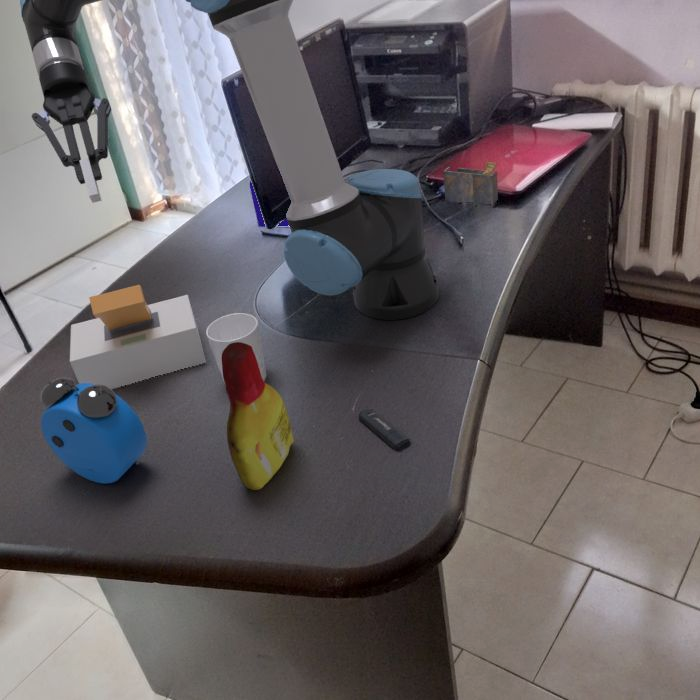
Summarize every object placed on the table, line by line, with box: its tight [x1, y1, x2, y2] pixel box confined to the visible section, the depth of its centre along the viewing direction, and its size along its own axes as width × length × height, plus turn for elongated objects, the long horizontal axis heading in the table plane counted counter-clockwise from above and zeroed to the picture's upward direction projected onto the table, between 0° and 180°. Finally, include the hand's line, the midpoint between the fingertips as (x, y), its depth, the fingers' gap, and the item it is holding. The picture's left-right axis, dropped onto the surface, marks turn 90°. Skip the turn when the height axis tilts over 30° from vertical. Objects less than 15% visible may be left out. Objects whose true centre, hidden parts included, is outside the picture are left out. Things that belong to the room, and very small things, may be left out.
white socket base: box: [69, 294, 207, 390], centre depth 123 cm, size 12×20×7 cm, turn 107°
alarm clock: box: [39, 377, 148, 484], centre depth 98 cm, size 13×6×15 cm, turn 65°
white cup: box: [205, 312, 267, 387], centre depth 113 cm, size 8×8×10 cm
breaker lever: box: [88, 284, 153, 331], centre depth 115 cm, size 3×8×11 cm
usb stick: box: [358, 408, 411, 452], centre depth 101 cm, size 10×3×2 cm, turn 34°
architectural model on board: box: [442, 160, 499, 205], centre depth 158 cm, size 11×3×10 cm, turn 57°
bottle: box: [221, 342, 295, 491], centre depth 93 cm, size 12×6×20 cm, turn 161°
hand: (95, 198), depth 120 cm, fingers closed
